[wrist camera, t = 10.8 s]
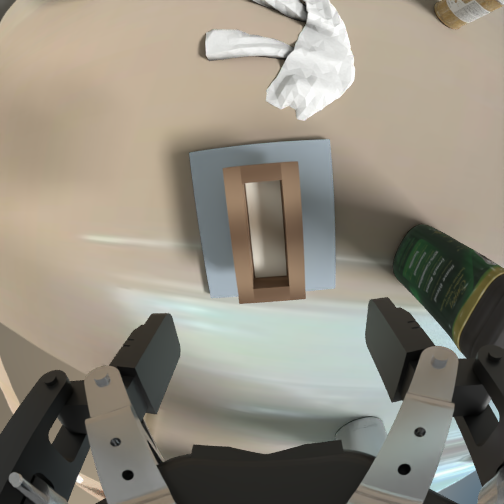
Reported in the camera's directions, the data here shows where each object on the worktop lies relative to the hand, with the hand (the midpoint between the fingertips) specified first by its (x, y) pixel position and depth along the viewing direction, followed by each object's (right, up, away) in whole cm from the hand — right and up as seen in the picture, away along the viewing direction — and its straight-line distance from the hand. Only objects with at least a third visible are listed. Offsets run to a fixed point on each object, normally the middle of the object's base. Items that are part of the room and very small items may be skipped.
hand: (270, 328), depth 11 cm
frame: (+1, +5, +15) cm, 16 cm away
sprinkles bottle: (+25, +34, +8) cm, 43 cm away
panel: (+1, +6, +18) cm, 19 cm away
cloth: (+2, +28, +12) cm, 30 cm away
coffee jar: (+20, +2, +19) cm, 28 cm away
